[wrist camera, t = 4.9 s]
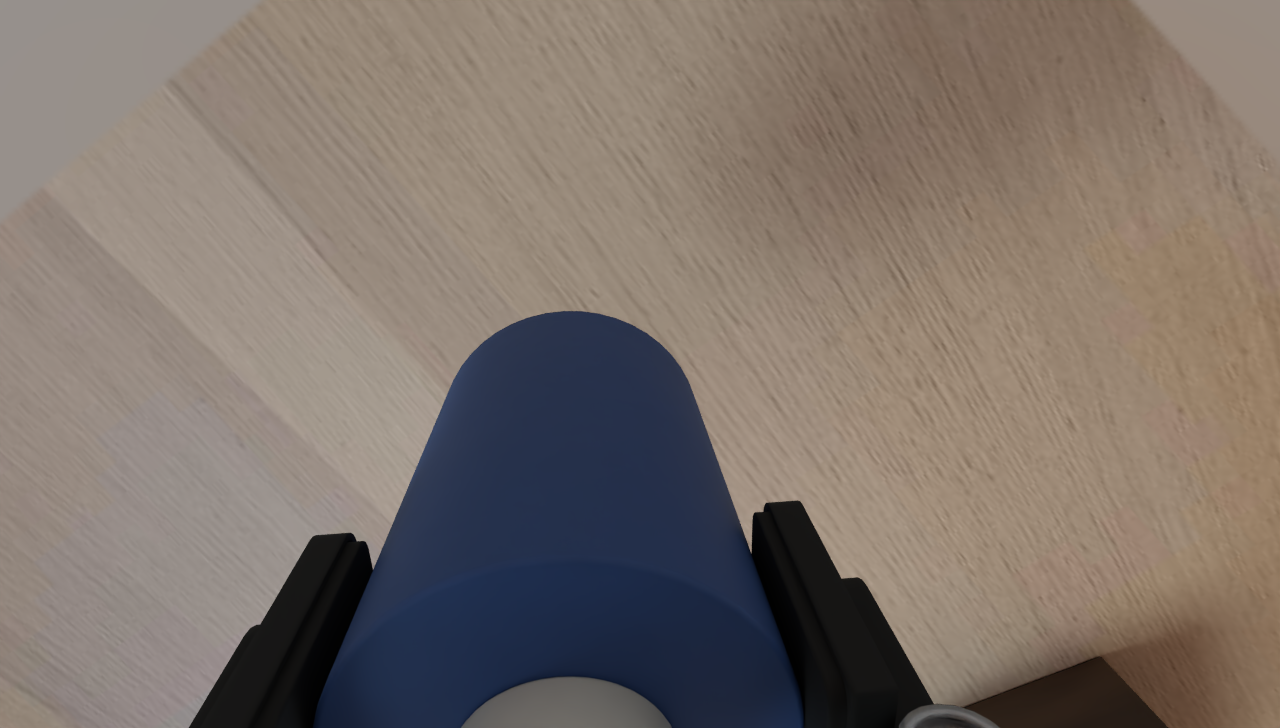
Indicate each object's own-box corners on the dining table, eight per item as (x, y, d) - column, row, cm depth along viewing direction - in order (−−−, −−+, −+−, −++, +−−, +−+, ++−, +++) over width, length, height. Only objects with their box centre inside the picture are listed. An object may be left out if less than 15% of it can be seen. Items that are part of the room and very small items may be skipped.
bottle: (426, 317, 16) (150, 743, 6) (696, 302, 16) (896, 679, 6) (460, 545, 18) (306, 1148, 8) (697, 528, 18) (844, 1083, 8)
